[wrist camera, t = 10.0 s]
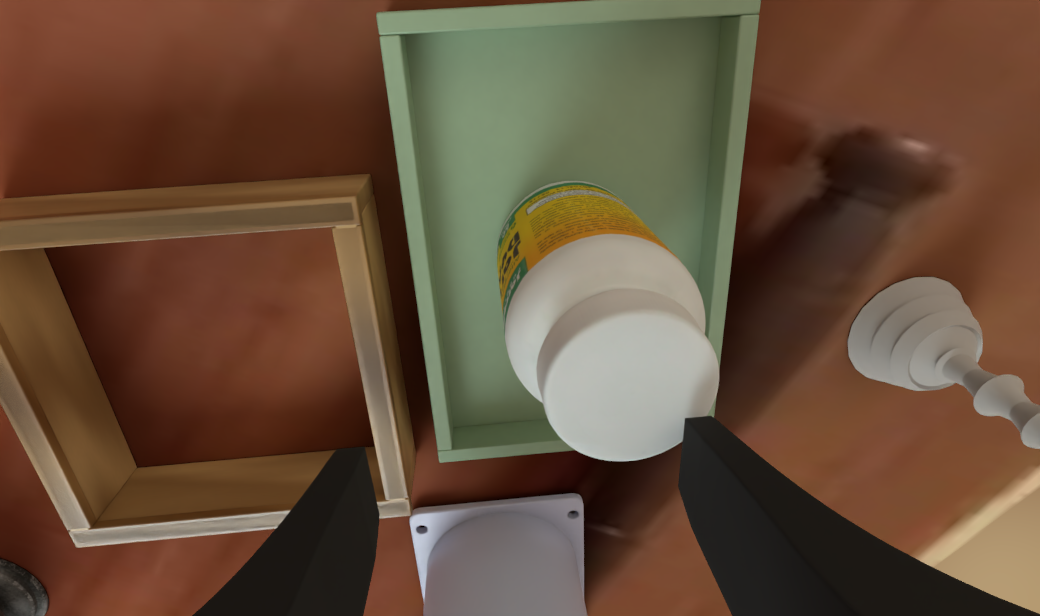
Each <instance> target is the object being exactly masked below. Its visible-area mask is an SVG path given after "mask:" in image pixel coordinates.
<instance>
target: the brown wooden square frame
mask: <svg viewBox="0 0 1040 616" xmlns="http://www.w3.org/2000/svg"><path fill="white" fill-rule="evenodd" d="M373 192H374V190H373V184H372V177H371V175H370V174H357V175H343V176H328V177H313V178H299V179H284V180H269V181H255V182H240V183H225V184H210V185H196V186H181V187H166V188H152V189H137V190H122V191H108V192H93V193H78V194H63V195H49V196H34V197H19V198H5V199H0V403H1V405H2V407H3V409H4V411H5V413H6V415H7V417H8V419H9V421H10V422H11V424H12V426H13V428H14V430H15V432H16V434H17V436H18V438H19V440H20V442H21V443H22V445H23V447H24V449H25V451H26V453H27V455H28V457H29V459H30V461H31V463H32V464H33V466H34V468H35V470H36V472H37V474H38V476H39V478H40V480H41V482H42V483H43V485H44V487H45V489H46V491H47V493H48V495H49V497H50V499H51V501H52V503H53V504H54V506H55V508H56V510H57V512H58V514H59V516H60V518H61V520H62V522H63V523H64V525H65V527H66V529H67V530H68V533H69V535H70V537H71V539H72V541H73V543H74V544H75V546H76V548H81V547H91V546H102V545H112V544H122V543H133V542H143V541H154V540H164V539H174V538H185V537H195V536H206V535H216V534H226V533H237V532H247V531H258V530H268V529H276V528H277V527H278V526H279V524H280V523H281V522H282V521H283V519H284V518H285V517H286V516H287V514H288V513H289V512H290V511H291V509H292V508H293V507H294V505H295V504H296V503H297V502H298V500H299V499H300V498H301V497H302V495H303V494H304V493H305V491H306V490H307V488H308V487H309V486H310V484H311V483H312V482H313V480H314V479H315V478H316V476H317V475H318V474H319V472H320V471H321V469H322V468H323V467H324V465H325V464H326V462H327V461H328V460H329V458H330V457H331V456H332V454H333V453H334V452H335V451H336V450H330V451H319V452H308V453H297V454H286V455H275V456H264V457H252V458H241V459H230V460H219V461H208V462H197V463H186V464H175V465H164V466H153V467H142V468H137V466H136V463H135V461H134V459H133V456H132V454H131V452H130V449H129V447H128V445H127V442H126V440H125V438H124V435H123V433H122V431H121V428H120V426H119V424H118V421H117V419H116V417H115V414H114V412H113V410H112V407H111V405H110V402H109V400H108V398H107V395H106V393H105V391H104V388H103V386H102V384H101V381H100V379H99V377H98V374H97V372H96V370H95V367H94V365H93V363H92V360H91V358H90V356H89V353H88V351H87V349H86V346H85V344H84V342H83V339H82V337H81V335H80V332H79V330H78V328H77V325H76V323H75V321H74V318H73V316H72V314H71V311H70V309H69V307H68V304H67V302H66V299H65V297H64V295H63V292H62V290H61V288H60V285H59V283H58V281H57V278H56V276H55V274H54V271H53V269H52V267H51V264H50V262H49V260H48V257H47V255H46V253H45V250H44V248H48V247H62V246H76V245H89V244H103V243H117V242H131V241H145V240H159V239H173V238H186V237H200V236H214V235H228V234H242V233H256V232H270V231H284V230H297V229H311V228H325V227H332V233H333V238H334V243H335V248H336V253H337V258H338V263H339V268H340V274H341V279H342V284H343V289H344V294H345V299H346V304H347V309H348V314H349V319H350V324H351V329H352V334H353V339H354V344H355V349H356V354H357V359H358V364H359V369H360V374H361V379H362V384H363V389H364V394H365V399H366V404H367V409H368V415H369V420H370V425H371V430H372V435H373V440H374V445H375V446H374V447H365V450H366V454H367V459H368V464H369V468H370V473H371V477H372V482H373V487H374V491H375V496H376V500H377V505H378V510H379V514H380V515H379V519H382V518H393V517H403V516H411V515H412V511H413V507H412V501H411V494H412V486H413V478H414V470H415V462H416V450H415V444H414V438H413V432H412V425H411V419H410V413H409V407H408V401H407V394H406V388H405V382H404V376H403V370H402V363H401V357H400V351H399V345H398V339H397V332H396V326H395V320H394V314H393V308H392V301H391V295H390V289H389V283H388V277H387V270H386V264H385V258H384V252H383V246H382V239H381V233H380V227H379V221H378V215H377V209H376V202H375V196H374V194H373Z"/></svg>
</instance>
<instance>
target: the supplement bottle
mask: <svg viewBox="0 0 1040 616" xmlns="http://www.w3.org/2000/svg"><path fill="white" fill-rule="evenodd" d="M497 270H498V278H499V288H500V298H501V304H502V313H503V324H504V338H505V343H506V347H507V351H508V355H509V358H510V361H511V364H512V367H513V369H514V371H515V373H516V375H517V376H518V378H519V380H520V381H521V383H522V384H523V385H524V386H525V388H526V389H527V390H528V391H529V392H530V393H531V394H532V395H533V396H534V397H535V398H536V399H538V400H539V401H540V402H542V403H543V405H544V409H545V413H546V415H547V418H548V421H549V423H550V424H551V426H552V427H553V429H554V430H555V432H556V433H557V435H558V436H559V437H560V438H561V439H562V440H563V441H564V442H565V443H567V444H568V445H569V446H570V447H572V448H573V449H575V450H576V451H578V452H580V453H582V454H584V455H587V456H590V457H593V458H596V459H600V460H607V461H634V460H640V459H645V458H648V457H652V456H654V455H657V454H660V453H663V452H665V451H667V450H669V449H670V448H672V447H674V446H676V445H677V444H679V443H680V442H682V441H683V433H684V423H685V418H692V417H703V416H707V415H708V413H709V411H710V409H711V408H712V405H713V403H714V400H715V398H716V395H717V391H718V385H719V365H718V361H717V357H716V354H715V351H714V349H713V347H712V345H711V343H710V341H709V340H708V338H707V337H706V336H705V309H704V305H703V300H702V297H701V294H700V291H699V289H698V287H697V285H696V283H695V281H694V279H693V277H692V276H691V274H690V273H689V272H688V270H687V269H686V267H685V266H684V265H683V264H682V263H681V261H680V260H679V259H678V258H677V257H676V255H675V254H673V253H672V252H671V251H670V250H669V249H668V248H667V246H665V244H664V243H663V242H662V241H661V240H660V239H659V238H658V237H657V236H656V235H655V234H654V233H653V232H652V231H651V230H650V229H649V228H648V227H647V226H646V225H645V224H644V223H643V222H642V220H641V219H640V218H639V217H638V216H637V215H636V214H635V213H634V212H633V211H632V210H631V209H630V208H629V207H628V206H627V205H626V204H625V203H624V202H623V201H622V200H621V199H620V198H619V197H618V196H616V195H615V194H614V193H612V192H611V191H609V190H607V189H605V188H603V187H601V186H599V185H596V184H593V183H589V182H584V181H561V182H556V183H551V184H548V185H545V186H543V187H541V188H539V189H537V190H535V191H534V192H532V193H531V194H529V195H528V196H527V197H525V198H524V199H523V200H522V201H521V202H520V203H519V204H518V205H517V206H516V207H515V208H514V209H513V210H512V212H511V213H510V214H509V216H508V217H507V219H506V221H505V223H504V224H503V226H502V228H501V231H500V234H499V237H498V242H497Z"/></svg>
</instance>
